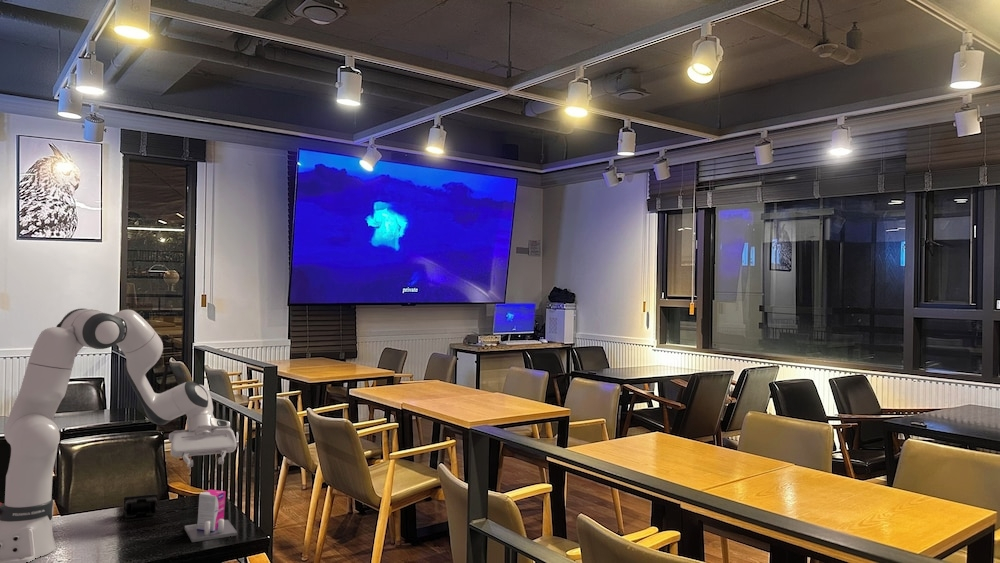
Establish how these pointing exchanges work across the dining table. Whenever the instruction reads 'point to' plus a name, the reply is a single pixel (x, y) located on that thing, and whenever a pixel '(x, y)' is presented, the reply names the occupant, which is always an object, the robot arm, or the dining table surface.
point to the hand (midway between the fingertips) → (206, 464)
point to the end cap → (140, 507)
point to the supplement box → (211, 509)
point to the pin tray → (223, 531)
